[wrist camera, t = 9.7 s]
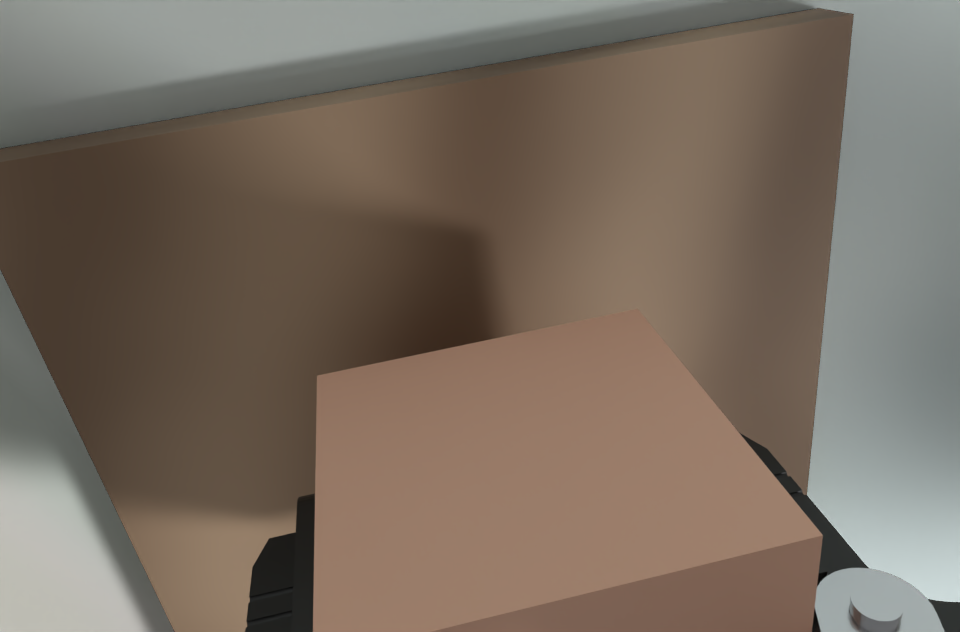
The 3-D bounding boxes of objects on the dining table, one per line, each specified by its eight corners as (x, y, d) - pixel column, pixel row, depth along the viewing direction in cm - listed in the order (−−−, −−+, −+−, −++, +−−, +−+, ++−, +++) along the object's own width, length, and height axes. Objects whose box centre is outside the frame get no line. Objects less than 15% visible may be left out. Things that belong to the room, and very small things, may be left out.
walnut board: (818, 8, 13) (853, 14, 12) (779, 520, 19) (801, 550, 18) (-20, 152, 12) (-48, 170, 11) (211, 657, 18) (205, 695, 17)
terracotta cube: (637, 308, 12) (823, 535, 7) (646, 542, 14) (790, 819, 10) (317, 375, 11) (312, 660, 7) (381, 606, 14) (409, 927, 9)
